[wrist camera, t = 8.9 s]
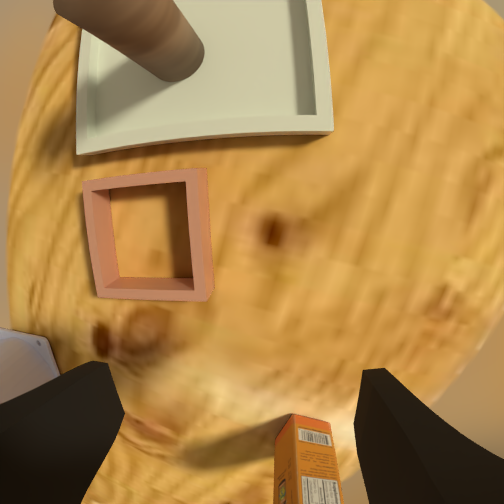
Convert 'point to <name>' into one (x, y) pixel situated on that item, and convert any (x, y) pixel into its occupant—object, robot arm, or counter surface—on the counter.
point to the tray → (213, 80)
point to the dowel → (141, 33)
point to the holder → (105, 247)
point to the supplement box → (306, 464)
